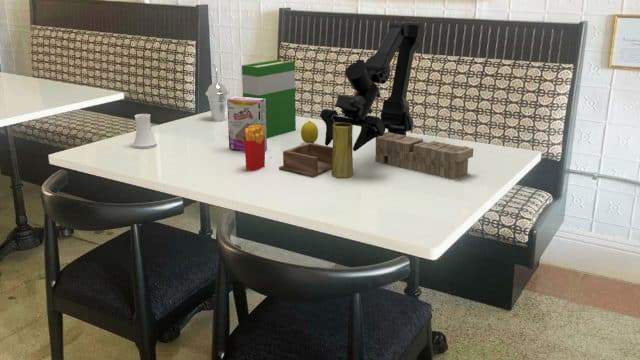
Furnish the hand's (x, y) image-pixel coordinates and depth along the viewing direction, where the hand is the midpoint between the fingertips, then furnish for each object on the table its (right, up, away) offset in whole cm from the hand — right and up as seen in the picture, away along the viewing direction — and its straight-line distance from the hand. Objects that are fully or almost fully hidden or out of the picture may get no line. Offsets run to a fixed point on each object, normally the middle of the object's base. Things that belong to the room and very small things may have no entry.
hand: (339, 147), depth 176 cm
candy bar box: (-28, 0, +28) cm, 39 cm away
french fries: (-24, -5, +10) cm, 27 cm away
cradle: (-7, -5, +9) cm, 13 cm away
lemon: (-9, +2, +33) cm, 34 cm away
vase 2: (+1, -7, +4) cm, 8 cm away
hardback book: (-22, +7, +47) cm, 53 cm away
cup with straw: (-43, +14, +67) cm, 81 cm away
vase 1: (-61, +2, +32) cm, 69 cm away
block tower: (+23, -5, +10) cm, 26 cm away
